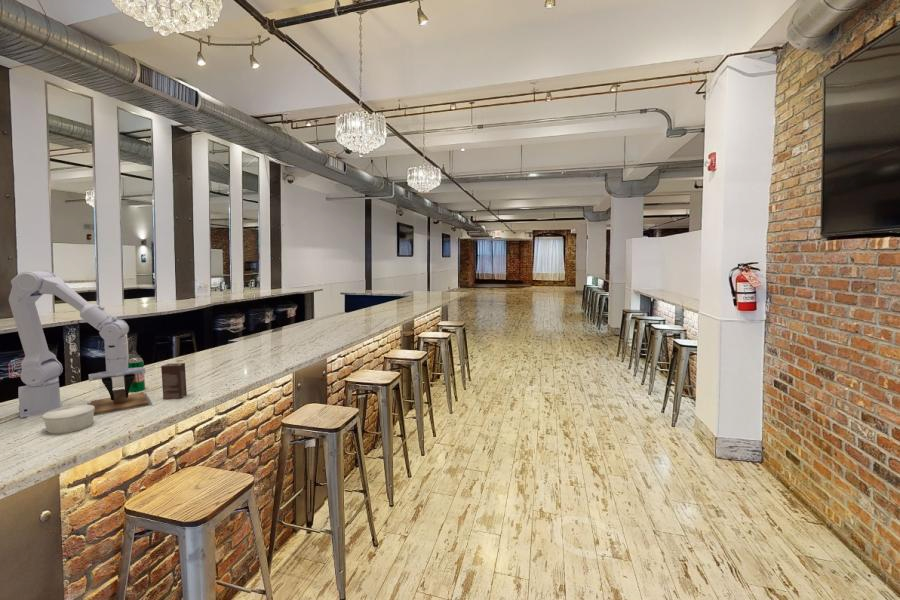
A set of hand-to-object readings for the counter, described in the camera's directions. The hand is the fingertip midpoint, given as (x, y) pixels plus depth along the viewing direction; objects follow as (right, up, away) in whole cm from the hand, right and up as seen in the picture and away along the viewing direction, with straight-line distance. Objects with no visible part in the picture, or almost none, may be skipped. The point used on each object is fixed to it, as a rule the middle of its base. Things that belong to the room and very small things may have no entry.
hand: (119, 398), depth 141 cm
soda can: (-6, -1, +15) cm, 16 cm away
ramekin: (0, -5, -18) cm, 19 cm away
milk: (-17, 0, +22) cm, 28 cm away
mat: (0, -2, 0) cm, 2 cm away
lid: (0, -2, 0) cm, 2 cm away
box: (+13, -2, +8) cm, 16 cm away
